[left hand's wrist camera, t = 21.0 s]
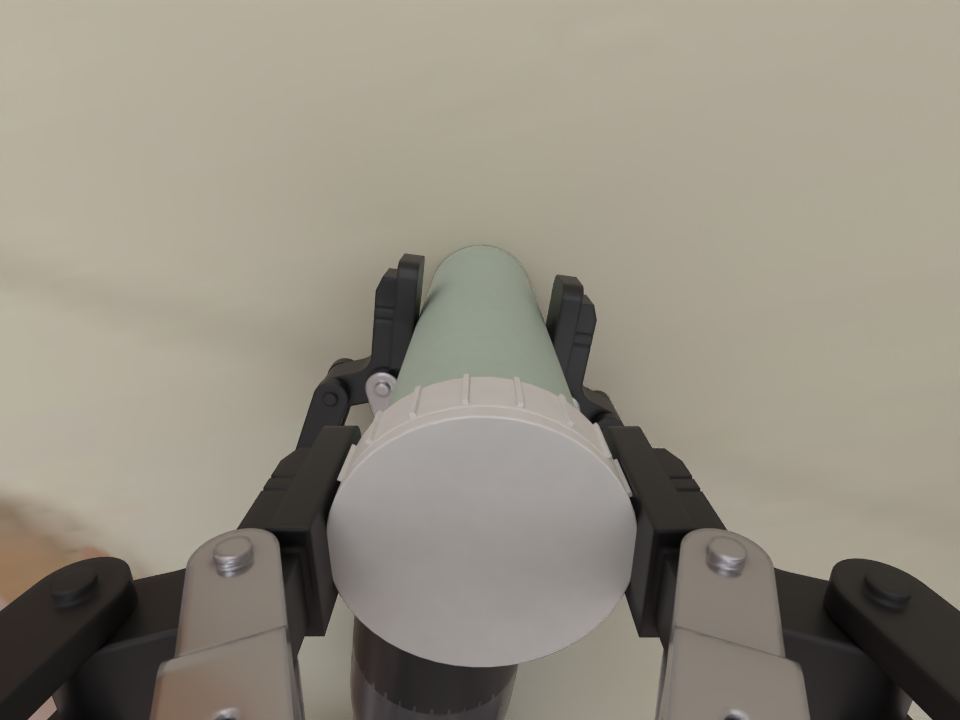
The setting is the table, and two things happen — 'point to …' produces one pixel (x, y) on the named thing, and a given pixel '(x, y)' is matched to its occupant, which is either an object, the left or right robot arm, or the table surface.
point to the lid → (481, 524)
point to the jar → (480, 327)
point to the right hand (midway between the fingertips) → (490, 271)
